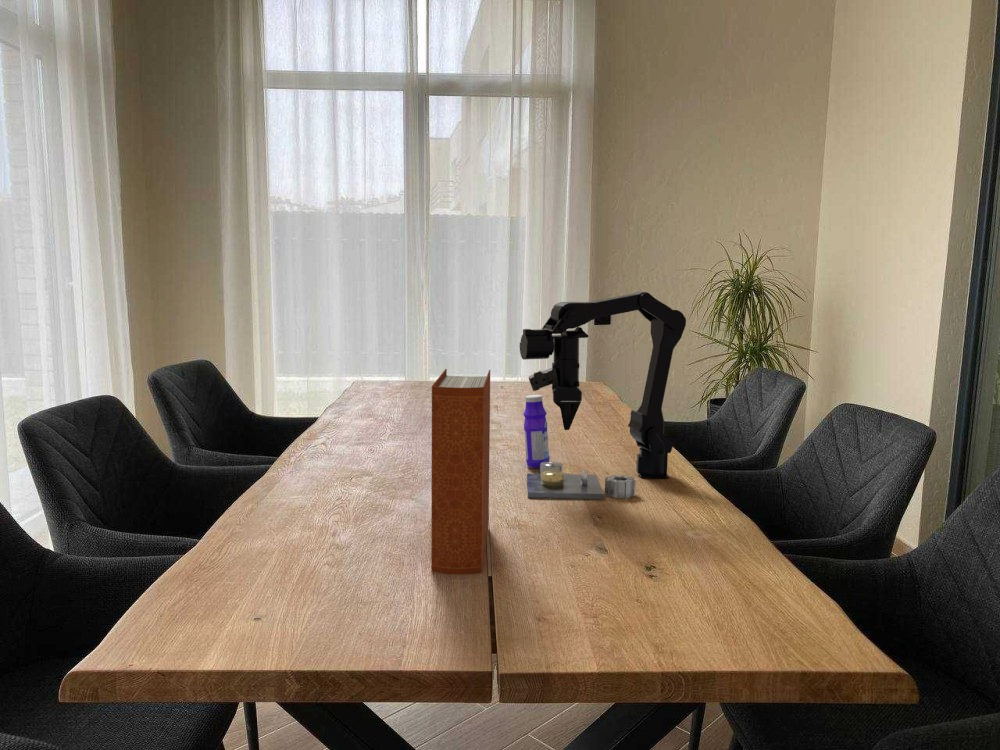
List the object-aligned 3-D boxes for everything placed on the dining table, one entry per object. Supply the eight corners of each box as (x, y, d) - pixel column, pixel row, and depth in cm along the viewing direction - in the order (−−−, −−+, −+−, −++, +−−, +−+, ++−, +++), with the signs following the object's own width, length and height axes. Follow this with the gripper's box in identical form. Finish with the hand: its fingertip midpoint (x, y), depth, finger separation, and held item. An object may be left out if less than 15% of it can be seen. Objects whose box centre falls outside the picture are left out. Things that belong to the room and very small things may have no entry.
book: (444, 527, 149) (445, 368, 145) (488, 528, 149) (490, 369, 145) (430, 574, 127) (430, 387, 123) (481, 575, 126) (483, 388, 122)
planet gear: (632, 490, 176) (632, 475, 176) (636, 498, 170) (637, 482, 169) (603, 490, 176) (604, 474, 176) (606, 498, 170) (607, 482, 170)
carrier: (595, 479, 185) (596, 460, 184) (603, 499, 169) (604, 478, 169) (526, 478, 185) (527, 459, 185) (528, 498, 169) (528, 477, 169)
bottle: (547, 468, 193) (543, 397, 191) (524, 469, 194) (520, 398, 192) (551, 461, 200) (547, 393, 198) (529, 462, 201) (524, 394, 199)
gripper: (531, 353, 190) (531, 418, 192) (530, 363, 171) (530, 434, 173) (578, 353, 189) (577, 418, 191) (582, 363, 171) (581, 434, 173)
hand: (566, 425), depth 182 cm, fingers open, 9 cm apart
